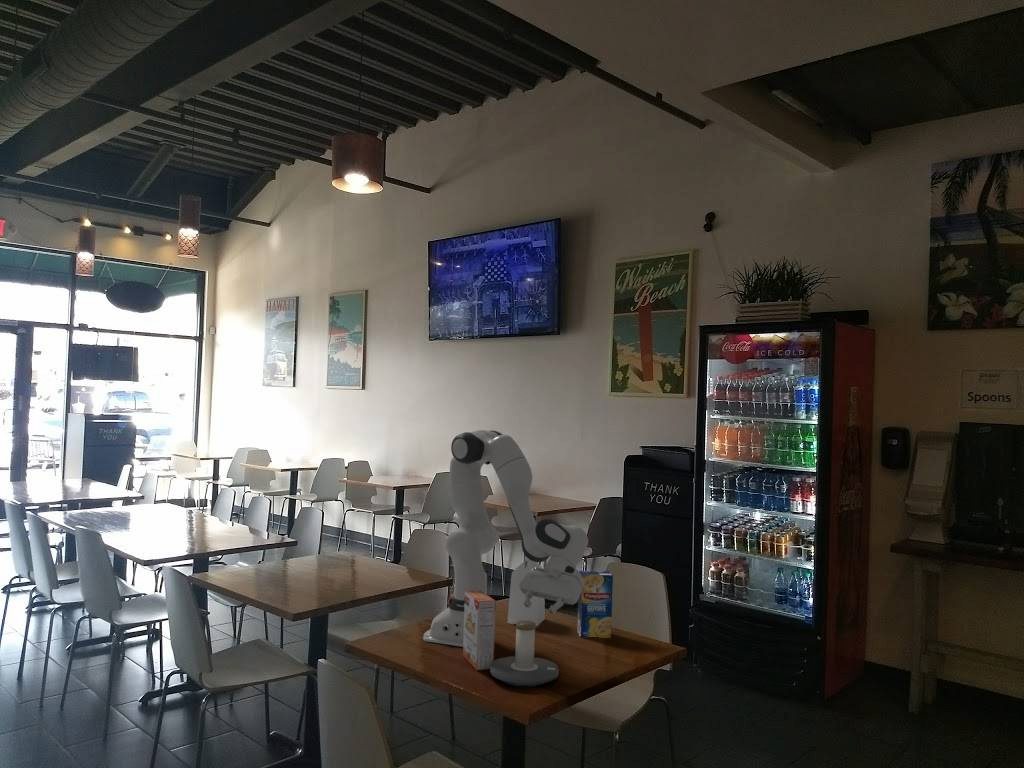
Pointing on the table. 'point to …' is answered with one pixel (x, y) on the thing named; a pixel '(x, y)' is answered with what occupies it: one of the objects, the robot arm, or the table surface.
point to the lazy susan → (524, 671)
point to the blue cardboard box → (595, 604)
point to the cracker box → (479, 629)
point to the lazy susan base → (522, 684)
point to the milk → (524, 597)
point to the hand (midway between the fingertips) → (538, 609)
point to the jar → (525, 644)
